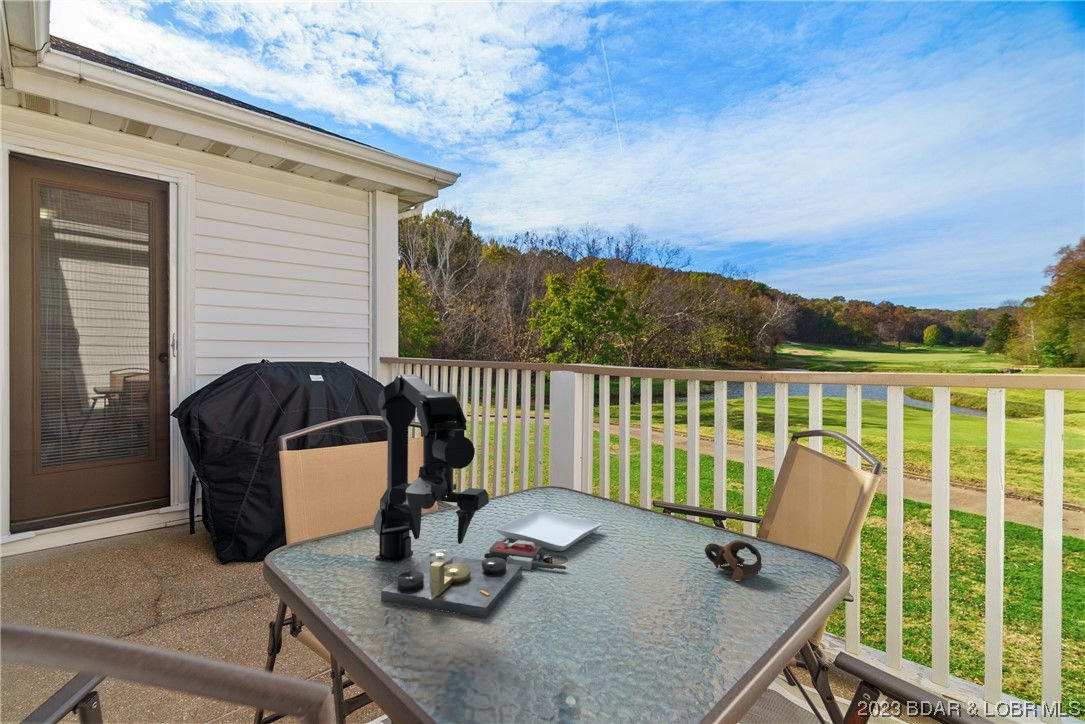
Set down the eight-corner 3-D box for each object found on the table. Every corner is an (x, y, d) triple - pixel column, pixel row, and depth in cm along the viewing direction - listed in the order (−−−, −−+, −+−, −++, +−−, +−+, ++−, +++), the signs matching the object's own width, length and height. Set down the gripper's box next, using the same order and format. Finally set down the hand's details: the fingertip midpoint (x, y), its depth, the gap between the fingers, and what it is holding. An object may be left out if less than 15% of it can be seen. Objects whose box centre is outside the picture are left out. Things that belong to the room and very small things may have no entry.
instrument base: (379, 601, 100) (379, 576, 100) (432, 561, 120) (432, 540, 120) (484, 619, 94) (484, 592, 94) (521, 574, 113) (522, 551, 113)
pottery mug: (754, 568, 119) (766, 544, 115) (752, 602, 112) (764, 578, 107) (702, 549, 123) (711, 525, 118) (696, 580, 115) (706, 556, 111)
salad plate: (603, 534, 141) (603, 521, 141) (563, 559, 123) (564, 545, 123) (537, 520, 152) (537, 508, 152) (493, 541, 134) (493, 528, 134)
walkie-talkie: (480, 565, 119) (565, 576, 114) (480, 546, 119) (565, 556, 114) (493, 551, 128) (573, 561, 122) (493, 533, 128) (573, 542, 122)
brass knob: (449, 568, 111) (449, 542, 111) (475, 572, 109) (475, 545, 109) (420, 593, 99) (420, 564, 99) (448, 597, 98) (448, 568, 98)
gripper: (371, 464, 94) (370, 550, 94) (465, 471, 89) (464, 562, 89) (404, 454, 105) (404, 531, 105) (489, 459, 100) (489, 540, 100)
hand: (438, 541), depth 99 cm, fingers open, 9 cm apart
